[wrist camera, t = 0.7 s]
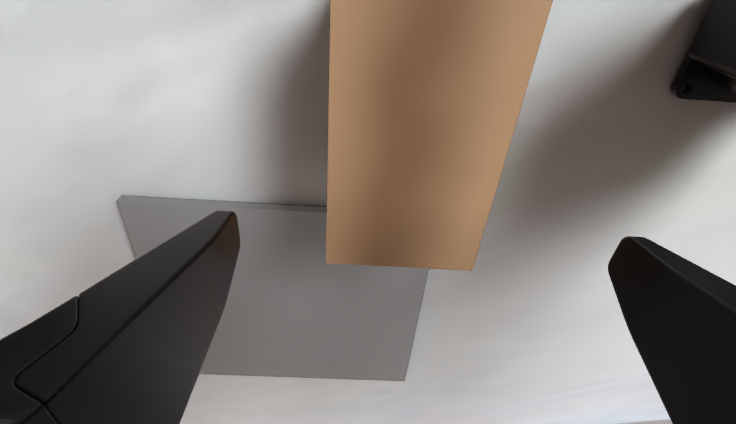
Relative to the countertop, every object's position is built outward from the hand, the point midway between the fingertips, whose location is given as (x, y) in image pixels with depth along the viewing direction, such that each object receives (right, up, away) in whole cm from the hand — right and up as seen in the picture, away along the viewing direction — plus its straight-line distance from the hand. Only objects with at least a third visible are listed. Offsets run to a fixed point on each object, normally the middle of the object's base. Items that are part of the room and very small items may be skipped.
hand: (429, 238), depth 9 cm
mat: (-7, -6, +18) cm, 20 cm away
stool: (0, +6, +10) cm, 12 cm away
